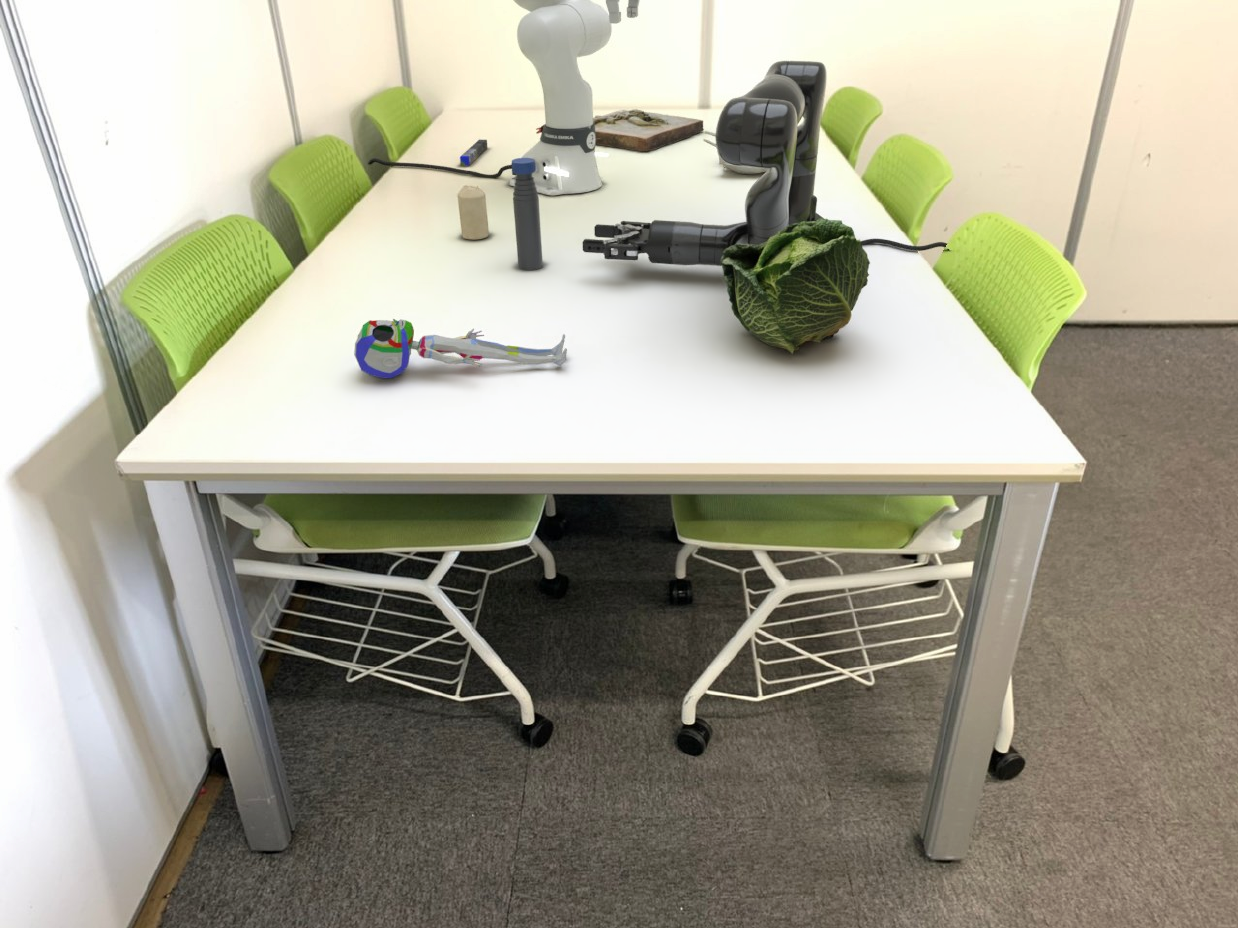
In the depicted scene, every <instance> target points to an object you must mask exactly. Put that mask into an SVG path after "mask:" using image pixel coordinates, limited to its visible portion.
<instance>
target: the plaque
mask: <svg viewBox="0 0 1238 928" xmlns="http://www.w3.org/2000/svg"><path fill="white" fill-rule="evenodd" d="M593 123H594V124H595V133H596V144H595V145H597V146H598V145H599V146H607V147H612V148H620V149H625V150H632V151H640V152H648V151H654V150H656V149H659V148H662V147H663V146H664V147H665V146H667V145H670V144H672V143H676V142H680V141H682V140H684V139H687V138H691V137H692V136H694V135H696V134H698V133H700V132H705V131H704V130H705V129H704V120H702V119H698V118H693V117H685V116H679V115H669V114H663V113H659V112H650V111H644V110H642V109H637V108H636V109H635V108H634V109H630V110H629V109H620V110H616V111H613V112H610V113H608V114H602V115H594V117H593Z"/></svg>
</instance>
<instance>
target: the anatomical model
mask: <svg viewBox="0 0 1238 928" xmlns="http://www.w3.org/2000/svg"><path fill="white" fill-rule="evenodd" d="M704 135H708V136H712V137H714V138H716V132H712V131H708V130H705V131H704ZM703 142H705V143H707V144H709V145H710V146H712V147H715V148H716V149H717V147H716V142H715V143H714V142H713V141H710V140H709V139H706V138H703ZM716 151H717V150H716ZM717 155H718V165H722V166H723V167H724V169H726V170H727V171H731V170H732V171H734V172H736V173H738V174H743V175H744V174H745V175H748V174H749V175H752V174H761V173H765V172H766V171H767V168H760V167H745V166H734V165H731V164H728V163H726V162H724V161H723V160H722V159H721V157H720V156H719V153H718V151H717Z"/></svg>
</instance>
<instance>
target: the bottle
mask: <svg viewBox="0 0 1238 928" xmlns="http://www.w3.org/2000/svg"><path fill="white" fill-rule="evenodd" d="M515 176H516V178H515V184H514V185H515V187H514V186H513V192H512V193H513V194H512V196H513V197H512V202H513V203H512V204H513V215H514V231H515V242H516V254H517V265H518V266H517V267H518V268H519V269H520V270H522V271H536V270H539V269H542V268H543V264H544V263H543V262H544V261H543V246H542V231H541V229H542V228H541V215H540V214H541V213H540V212H541V211H540V199H539V193H538V192H537V188H536V186H535V182H534V177H532V173H530V174H516V175H515Z"/></svg>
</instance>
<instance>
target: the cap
mask: <svg viewBox="0 0 1238 928" xmlns="http://www.w3.org/2000/svg"><path fill="white" fill-rule="evenodd" d="M510 165H512V169H511V173H512V172H513V173H515V174H530V173H534V172H535V171H536V166H535V160H534V159H532V158H521V157H518V158H514V159H512V160H511V163H510Z"/></svg>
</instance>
